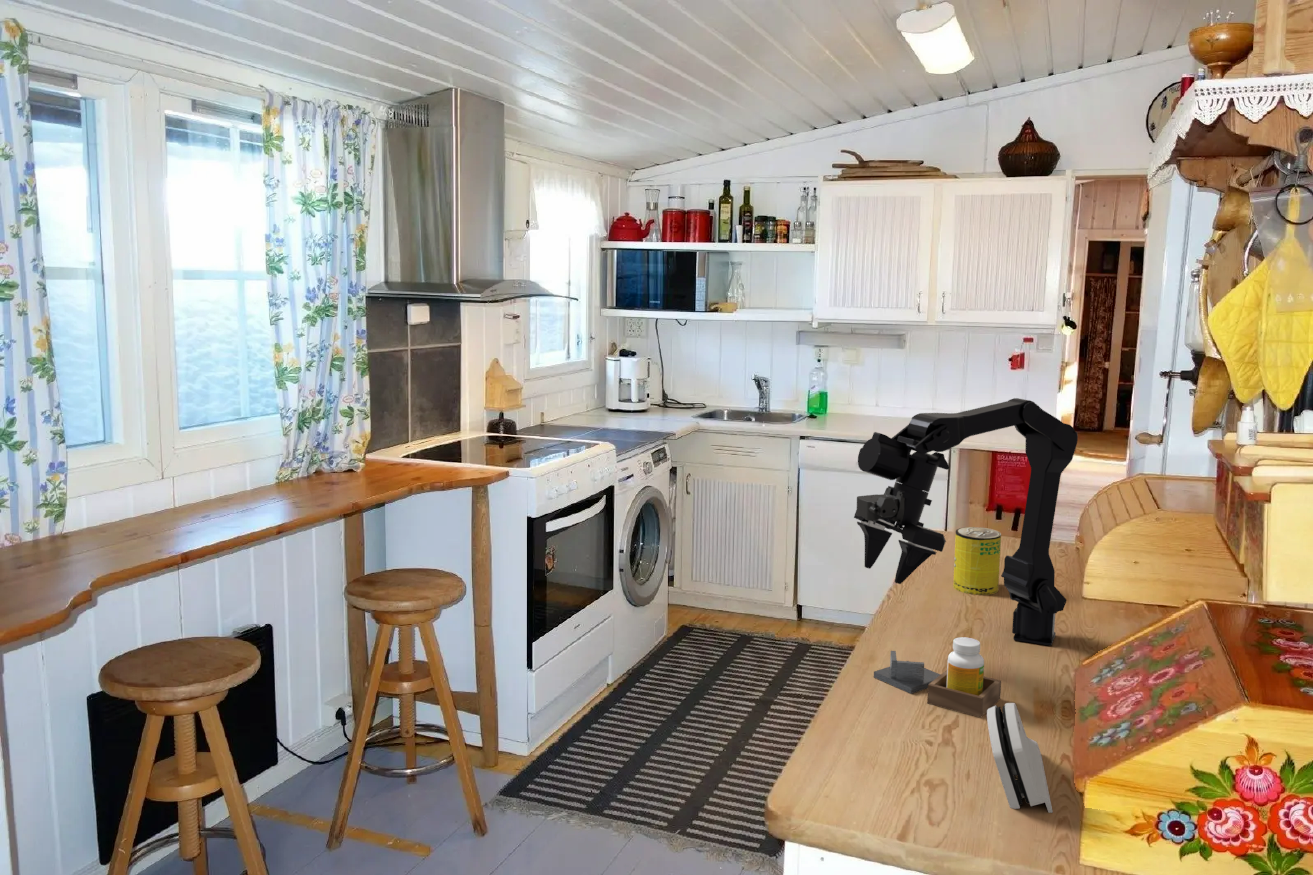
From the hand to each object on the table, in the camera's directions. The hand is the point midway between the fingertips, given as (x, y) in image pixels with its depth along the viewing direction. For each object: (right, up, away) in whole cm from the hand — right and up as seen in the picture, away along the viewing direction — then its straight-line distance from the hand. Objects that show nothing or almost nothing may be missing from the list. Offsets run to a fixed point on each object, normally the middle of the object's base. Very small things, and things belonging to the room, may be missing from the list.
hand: (882, 575), depth 171 cm
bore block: (+10, -18, -13) cm, 24 cm away
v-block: (+3, -16, -5) cm, 17 cm away
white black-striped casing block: (+9, -22, -37) cm, 44 cm away
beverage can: (+29, -9, +42) cm, 52 cm away
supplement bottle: (+10, -18, -13) cm, 24 cm away
